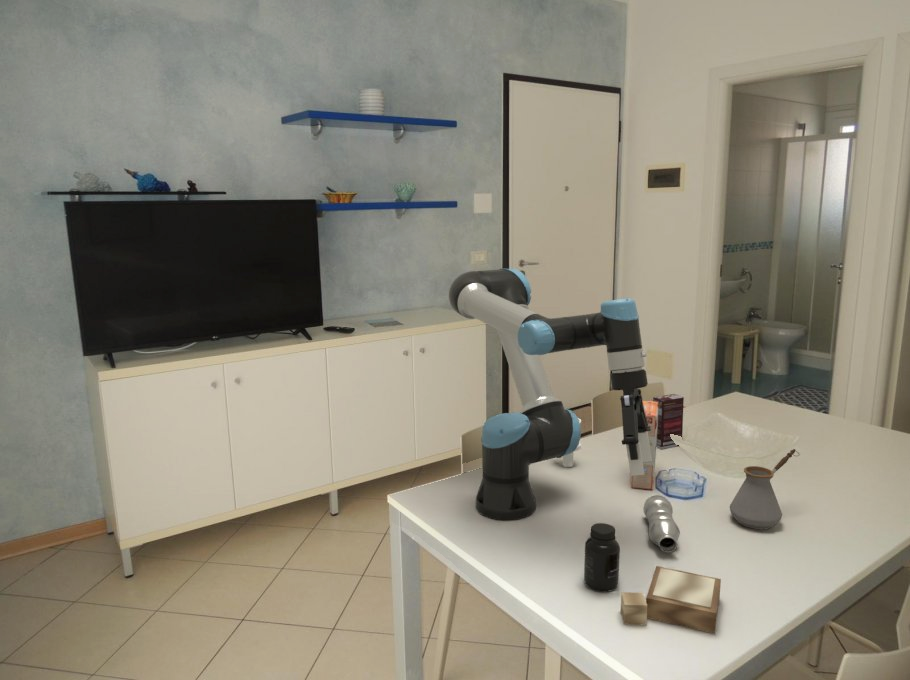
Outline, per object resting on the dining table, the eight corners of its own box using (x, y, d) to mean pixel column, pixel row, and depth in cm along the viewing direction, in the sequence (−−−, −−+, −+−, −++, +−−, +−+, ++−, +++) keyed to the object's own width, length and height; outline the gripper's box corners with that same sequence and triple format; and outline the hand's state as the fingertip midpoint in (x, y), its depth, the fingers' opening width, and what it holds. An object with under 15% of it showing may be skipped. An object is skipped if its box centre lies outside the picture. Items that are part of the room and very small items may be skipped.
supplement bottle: (619, 594, 130) (621, 538, 128) (583, 591, 131) (585, 535, 129) (617, 575, 137) (619, 521, 134) (584, 572, 138) (585, 519, 136)
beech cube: (624, 624, 121) (624, 604, 120) (620, 611, 125) (621, 592, 124) (646, 625, 121) (647, 605, 120) (642, 612, 124) (643, 592, 124)
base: (645, 617, 123) (646, 596, 122) (655, 584, 133) (656, 564, 133) (714, 633, 118) (716, 611, 117) (719, 597, 128) (720, 577, 128)
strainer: (558, 459, 200) (559, 411, 197) (582, 462, 197) (583, 413, 194) (553, 468, 193) (554, 418, 190) (577, 471, 191) (578, 421, 188)
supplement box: (671, 440, 214) (674, 393, 211) (682, 445, 209) (685, 397, 206) (650, 445, 210) (652, 396, 207) (660, 449, 206) (663, 400, 203)
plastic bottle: (672, 515, 162) (686, 556, 142) (644, 518, 163) (654, 560, 144) (668, 490, 161) (681, 528, 141) (639, 494, 162) (649, 532, 143)
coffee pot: (763, 538, 151) (768, 476, 148) (718, 519, 160) (722, 460, 157) (813, 513, 162) (819, 455, 160) (769, 497, 172) (774, 442, 169)
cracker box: (653, 491, 177) (657, 415, 173) (630, 488, 179) (633, 413, 174) (656, 471, 190) (659, 400, 186) (634, 469, 192) (636, 399, 187)
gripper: (637, 372, 131) (653, 480, 130) (651, 364, 154) (664, 455, 153) (599, 377, 134) (614, 482, 133) (619, 368, 157) (631, 457, 156)
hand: (641, 468), depth 143 cm, fingers open, 13 cm apart
